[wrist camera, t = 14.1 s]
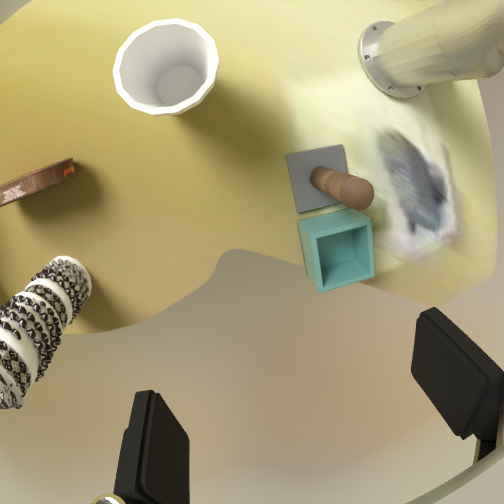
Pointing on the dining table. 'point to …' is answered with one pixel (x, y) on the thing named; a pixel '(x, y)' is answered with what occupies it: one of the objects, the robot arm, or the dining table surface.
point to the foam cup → (166, 67)
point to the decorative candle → (38, 325)
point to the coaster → (302, 168)
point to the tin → (36, 181)
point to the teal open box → (337, 249)
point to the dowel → (343, 187)
